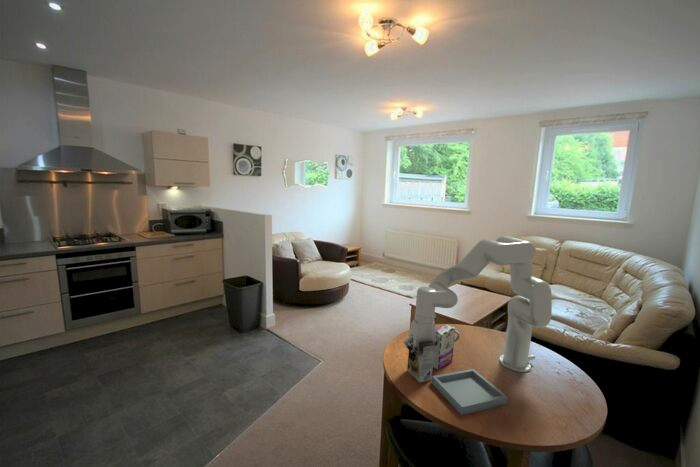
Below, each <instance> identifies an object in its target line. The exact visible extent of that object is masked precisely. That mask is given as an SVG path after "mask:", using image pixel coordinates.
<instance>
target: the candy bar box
mask: <svg viewBox="0 0 700 467" xmlns="http://www.w3.org/2000/svg"><path fill="white" fill-rule="evenodd" d="M455 330H456V327H454V326H451V325H449V324H447V323H445V324H444V325H441V326H439V327H437V328H436V335H437V336H438V337H439V338H440V341H439V342H438V344H437V345H436V347H435V352H434V361H433V369H435V370H437V371H439V370H441V369H443V368H444V367H446V366H447V365H449V364H451V363H452V362H453V358H454V357H453V356H454V345H455V343H454V339H455V335H456V333H455Z"/></svg>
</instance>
